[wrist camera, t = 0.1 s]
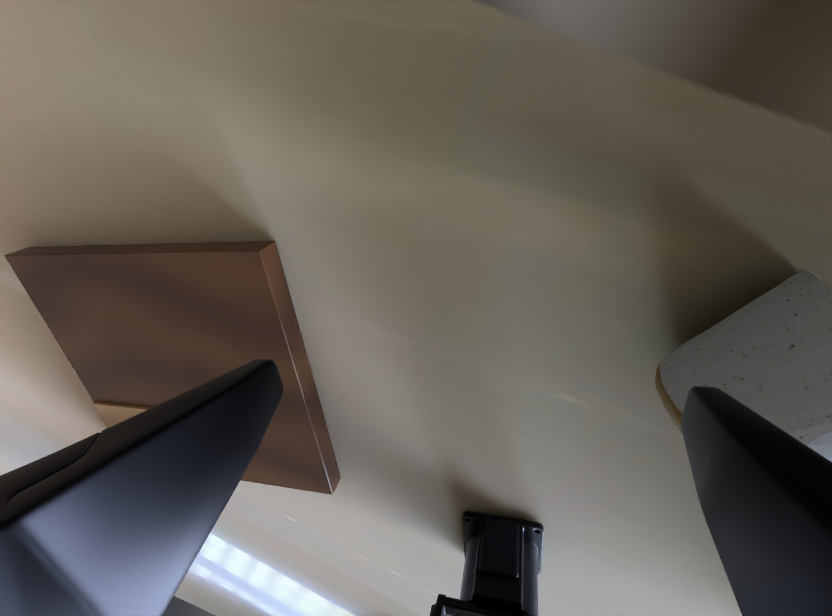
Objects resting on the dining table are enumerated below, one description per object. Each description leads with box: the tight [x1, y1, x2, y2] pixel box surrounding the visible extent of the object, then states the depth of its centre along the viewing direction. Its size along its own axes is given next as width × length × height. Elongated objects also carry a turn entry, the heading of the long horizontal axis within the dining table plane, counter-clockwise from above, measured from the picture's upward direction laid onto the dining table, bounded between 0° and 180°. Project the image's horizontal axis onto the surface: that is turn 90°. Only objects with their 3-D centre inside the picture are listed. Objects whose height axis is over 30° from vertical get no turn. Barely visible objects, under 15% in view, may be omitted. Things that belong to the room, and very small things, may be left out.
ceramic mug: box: [655, 270, 832, 462], centre depth 18 cm, size 11×8×8 cm
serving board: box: [5, 241, 341, 495], centre depth 33 cm, size 22×22×2 cm
